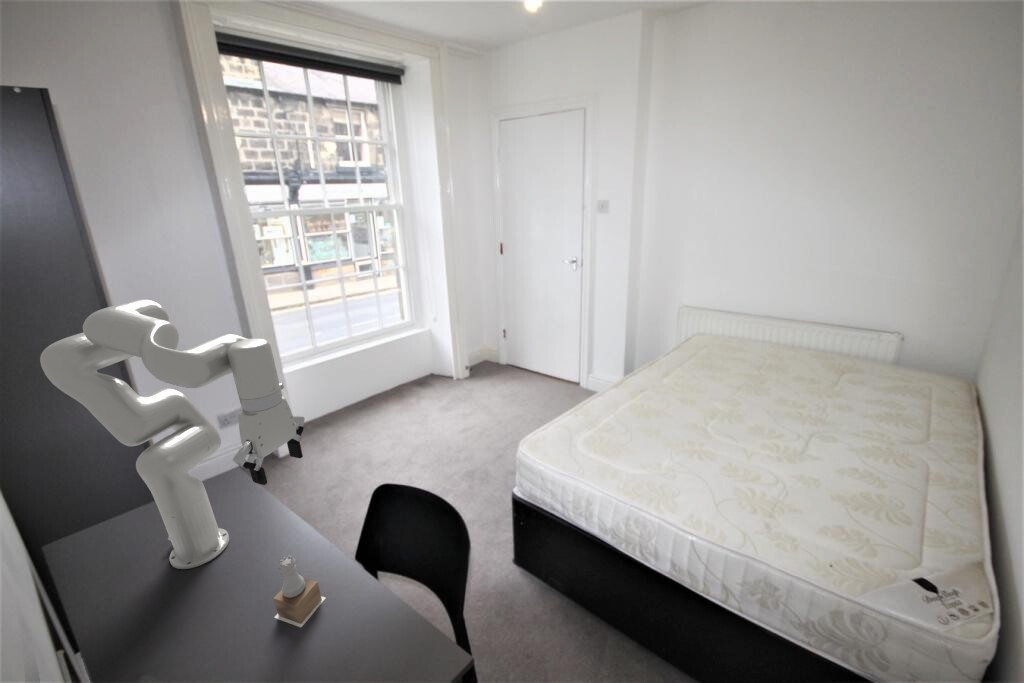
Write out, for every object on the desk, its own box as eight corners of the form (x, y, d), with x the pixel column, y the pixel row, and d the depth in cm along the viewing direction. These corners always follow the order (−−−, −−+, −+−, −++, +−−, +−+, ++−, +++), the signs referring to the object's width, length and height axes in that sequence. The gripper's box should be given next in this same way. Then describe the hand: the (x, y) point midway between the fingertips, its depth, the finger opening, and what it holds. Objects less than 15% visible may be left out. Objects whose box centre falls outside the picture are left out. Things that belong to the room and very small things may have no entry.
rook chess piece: (297, 600, 92) (288, 570, 89) (278, 597, 93) (269, 567, 90) (310, 582, 96) (303, 553, 93) (292, 579, 97) (284, 550, 94)
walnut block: (278, 615, 94) (273, 598, 93) (300, 592, 100) (295, 575, 98) (301, 623, 92) (296, 606, 91) (321, 599, 98) (317, 581, 96)
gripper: (281, 379, 101) (296, 445, 107) (208, 416, 85) (231, 490, 91) (307, 383, 98) (321, 450, 104) (237, 423, 83) (258, 498, 89)
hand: (279, 469), depth 98 cm, fingers open, 9 cm apart
